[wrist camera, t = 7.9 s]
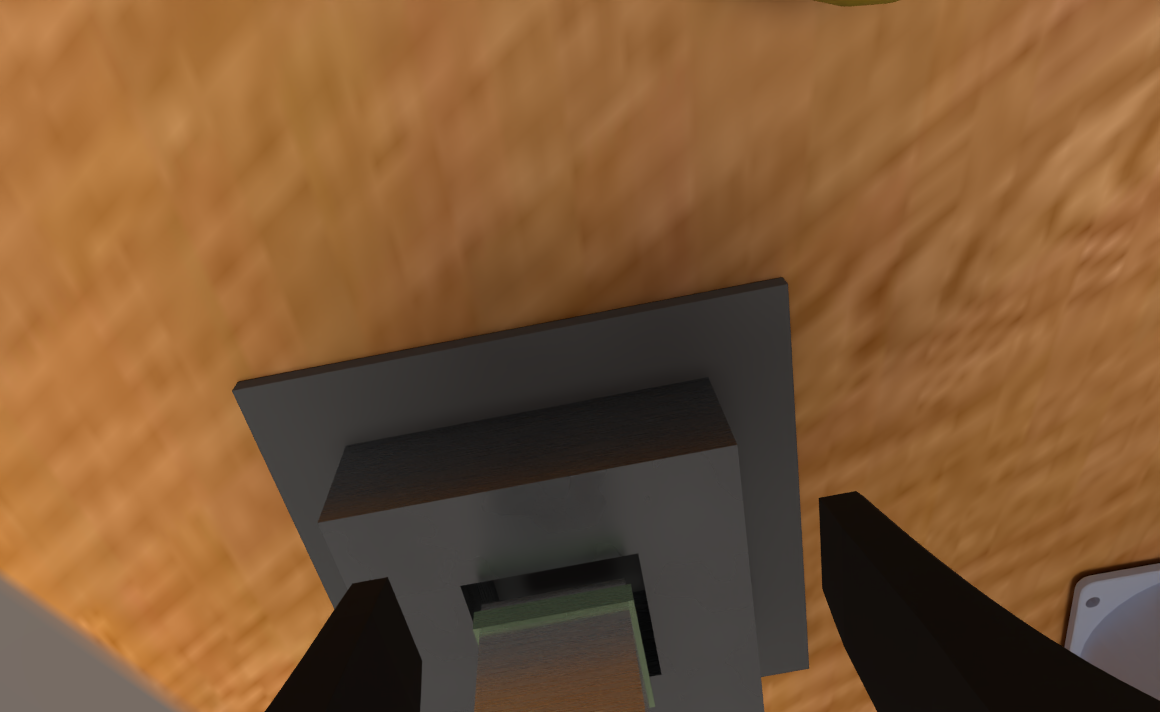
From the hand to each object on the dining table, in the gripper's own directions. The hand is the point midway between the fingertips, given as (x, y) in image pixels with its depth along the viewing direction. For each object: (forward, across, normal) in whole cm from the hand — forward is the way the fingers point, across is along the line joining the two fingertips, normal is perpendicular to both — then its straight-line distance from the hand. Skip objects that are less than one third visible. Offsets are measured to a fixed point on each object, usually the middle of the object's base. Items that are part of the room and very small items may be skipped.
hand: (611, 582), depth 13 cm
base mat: (+10, +2, +8) cm, 13 cm away
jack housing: (+10, +2, +8) cm, 13 cm away
